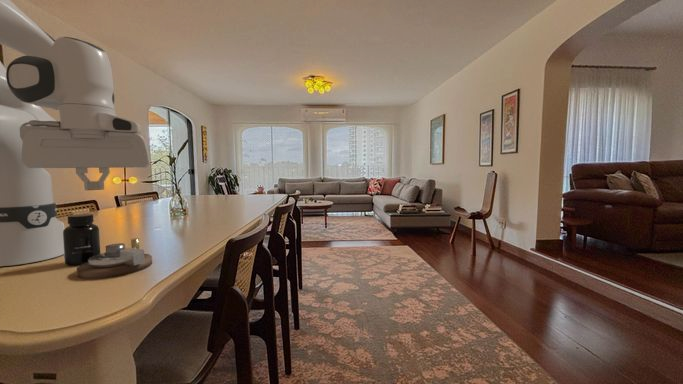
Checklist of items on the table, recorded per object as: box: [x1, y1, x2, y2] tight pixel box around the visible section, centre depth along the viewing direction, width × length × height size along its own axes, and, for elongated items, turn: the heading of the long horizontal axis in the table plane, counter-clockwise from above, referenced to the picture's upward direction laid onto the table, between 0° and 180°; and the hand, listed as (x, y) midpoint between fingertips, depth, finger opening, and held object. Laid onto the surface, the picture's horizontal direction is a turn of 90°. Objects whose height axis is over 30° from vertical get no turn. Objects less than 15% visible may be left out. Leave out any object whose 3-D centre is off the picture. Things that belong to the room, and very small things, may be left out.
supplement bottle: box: [63, 213, 101, 267], centre depth 73 cm, size 7×7×12 cm
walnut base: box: [76, 237, 153, 280], centre depth 69 cm, size 14×14×6 cm
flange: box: [88, 242, 145, 267], centre depth 68 cm, size 13×10×4 cm
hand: (94, 189), depth 61 cm, fingers closed
